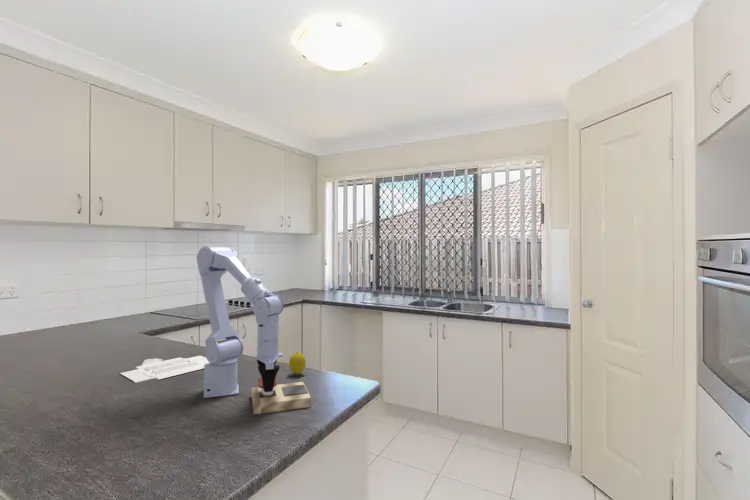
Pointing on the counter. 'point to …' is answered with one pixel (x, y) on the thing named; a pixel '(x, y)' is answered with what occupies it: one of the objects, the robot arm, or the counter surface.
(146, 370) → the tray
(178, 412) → the counter surface
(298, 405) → the board
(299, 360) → the lemon
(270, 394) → the peg
